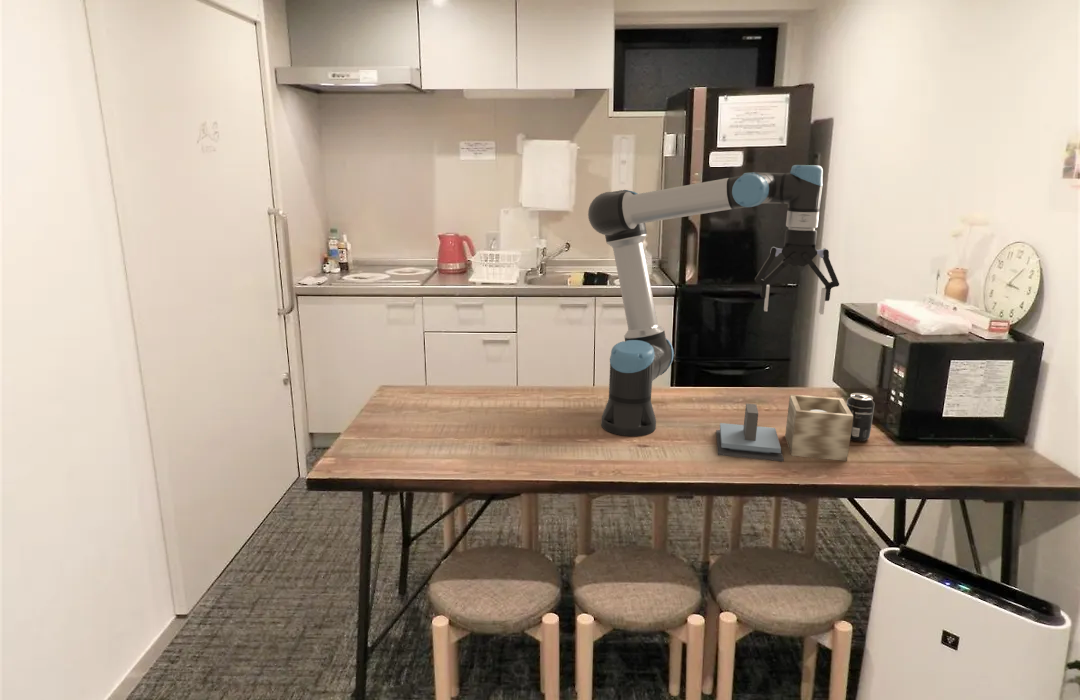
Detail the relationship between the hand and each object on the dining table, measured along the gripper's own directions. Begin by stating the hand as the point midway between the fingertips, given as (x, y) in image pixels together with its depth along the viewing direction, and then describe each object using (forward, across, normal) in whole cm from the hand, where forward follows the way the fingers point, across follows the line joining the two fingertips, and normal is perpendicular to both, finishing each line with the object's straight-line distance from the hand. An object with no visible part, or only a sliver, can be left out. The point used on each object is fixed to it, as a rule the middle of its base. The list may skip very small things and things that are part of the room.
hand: (793, 311), depth 184 cm
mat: (+35, -9, -8) cm, 37 cm away
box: (+35, +8, -5) cm, 36 cm away
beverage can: (+35, +20, +6) cm, 41 cm away
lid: (+34, -9, -8) cm, 36 cm away
